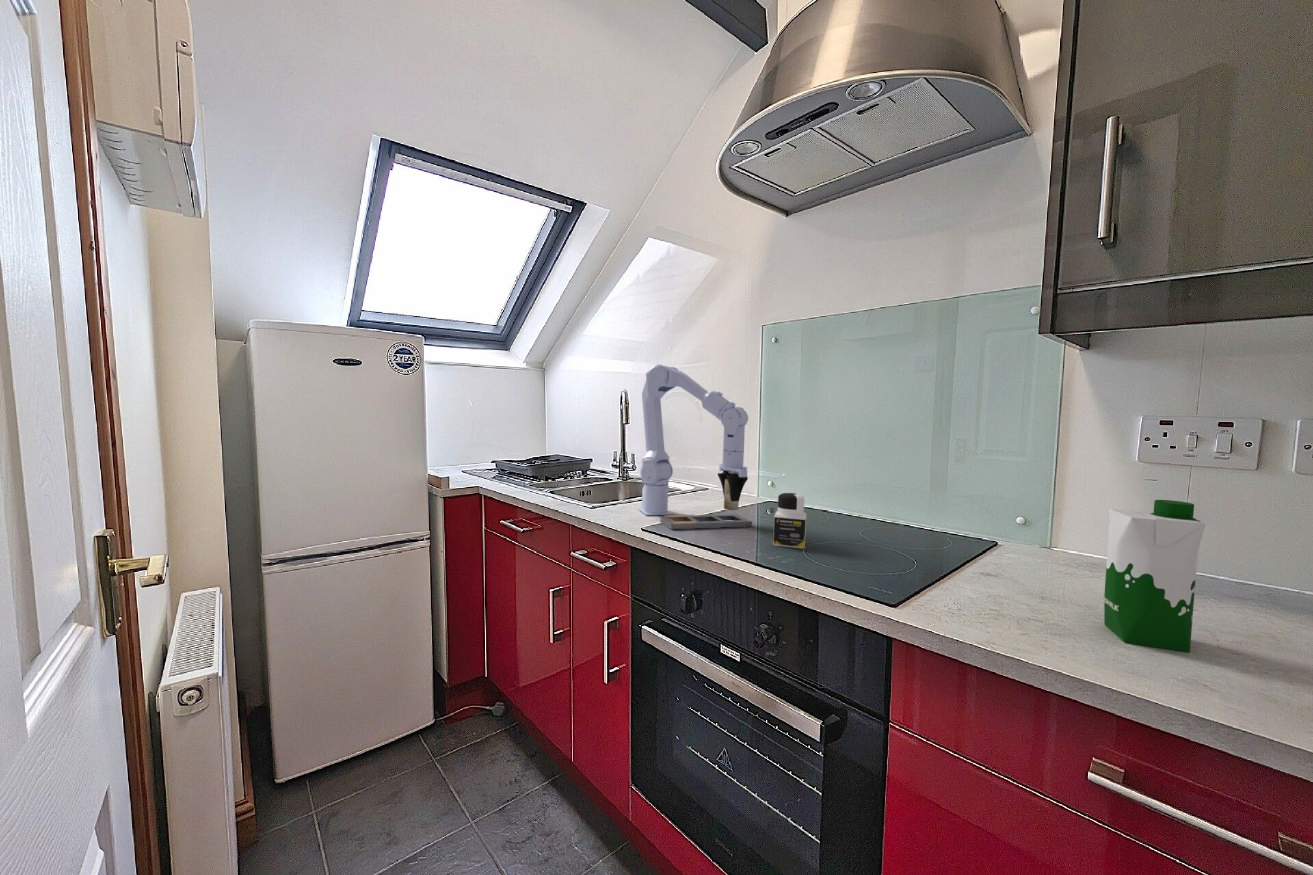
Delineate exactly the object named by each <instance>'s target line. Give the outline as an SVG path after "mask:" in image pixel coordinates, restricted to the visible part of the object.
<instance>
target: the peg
mask: <svg viewBox="0 0 1313 875" xmlns="http://www.w3.org/2000/svg"><path fill="white" fill-rule="evenodd" d="M739 501H740V500H739ZM739 501H731V499H730V488H729V483H728V480H727V479H725V492H724V494H723V509H724V510H730V511H737V510H739V505H740V504H739Z"/></svg>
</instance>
